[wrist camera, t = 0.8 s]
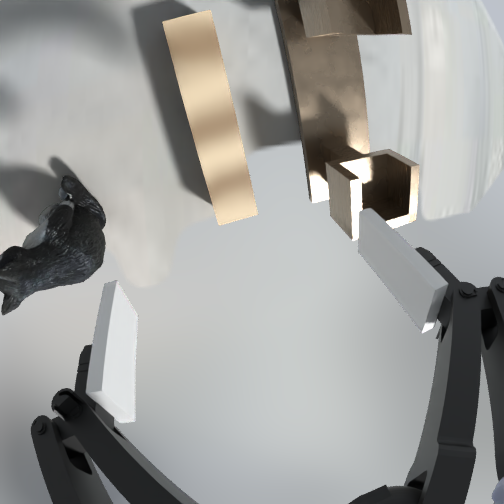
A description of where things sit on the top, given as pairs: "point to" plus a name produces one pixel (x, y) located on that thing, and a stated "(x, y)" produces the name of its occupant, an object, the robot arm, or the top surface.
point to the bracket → (344, 109)
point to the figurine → (56, 247)
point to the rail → (211, 114)
